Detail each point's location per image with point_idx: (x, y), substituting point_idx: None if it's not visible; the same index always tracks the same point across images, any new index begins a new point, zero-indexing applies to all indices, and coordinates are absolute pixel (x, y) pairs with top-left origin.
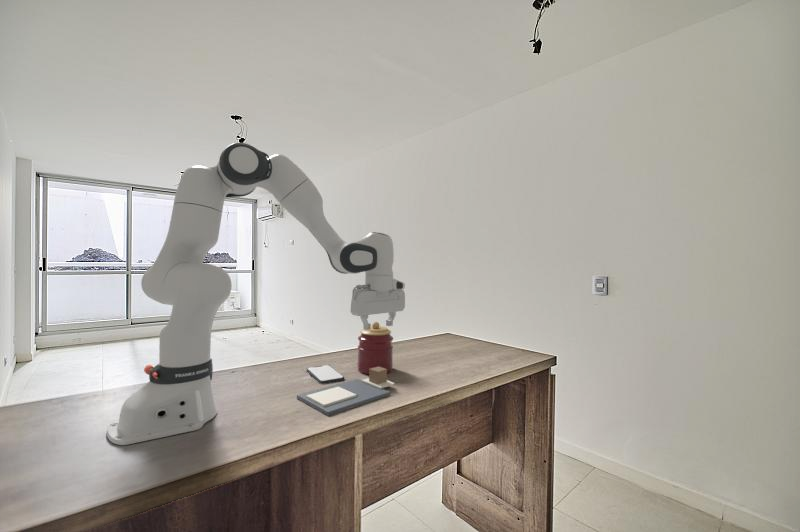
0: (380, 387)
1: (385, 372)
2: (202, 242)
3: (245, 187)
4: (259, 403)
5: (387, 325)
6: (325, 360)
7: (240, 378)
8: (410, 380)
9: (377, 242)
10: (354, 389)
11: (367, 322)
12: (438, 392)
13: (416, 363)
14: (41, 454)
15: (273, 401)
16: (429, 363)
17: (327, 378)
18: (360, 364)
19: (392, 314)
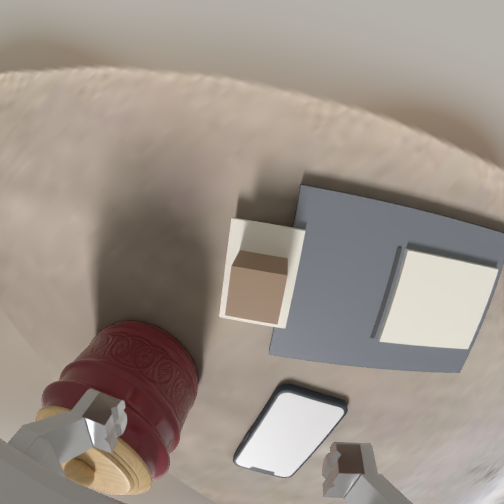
0: (303, 230)
1: (241, 263)
2: None
3: None
4: (495, 390)
5: (123, 415)
6: (195, 481)
7: None
8: (136, 218)
9: None
10: (359, 296)
11: (376, 484)
12: (170, 73)
13: (26, 298)
14: None
15: (481, 383)
16: (5, 268)
17: (321, 411)
18: (191, 403)
19: (49, 450)
